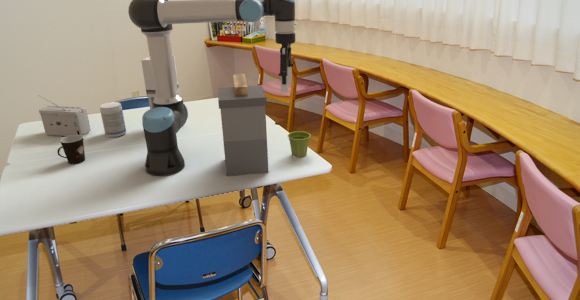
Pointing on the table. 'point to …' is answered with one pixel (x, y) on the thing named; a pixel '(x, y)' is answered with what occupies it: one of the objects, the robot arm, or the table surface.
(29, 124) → the table surface
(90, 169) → the table surface
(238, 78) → the oak slat
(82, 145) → the coffee mug
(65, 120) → the stereo radio cassette player
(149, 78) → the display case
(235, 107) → the grey box
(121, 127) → the supplement tub
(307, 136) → the plant pot
